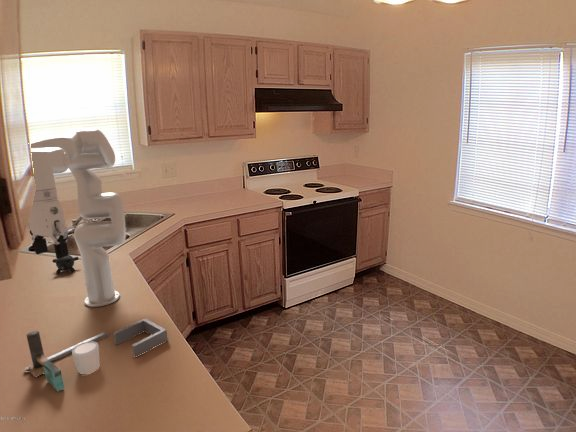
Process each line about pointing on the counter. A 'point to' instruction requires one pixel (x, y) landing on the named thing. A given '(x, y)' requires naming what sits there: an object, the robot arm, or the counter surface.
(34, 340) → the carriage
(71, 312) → the counter surface
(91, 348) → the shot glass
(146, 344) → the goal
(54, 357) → the rail
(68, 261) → the dark lidded pot
